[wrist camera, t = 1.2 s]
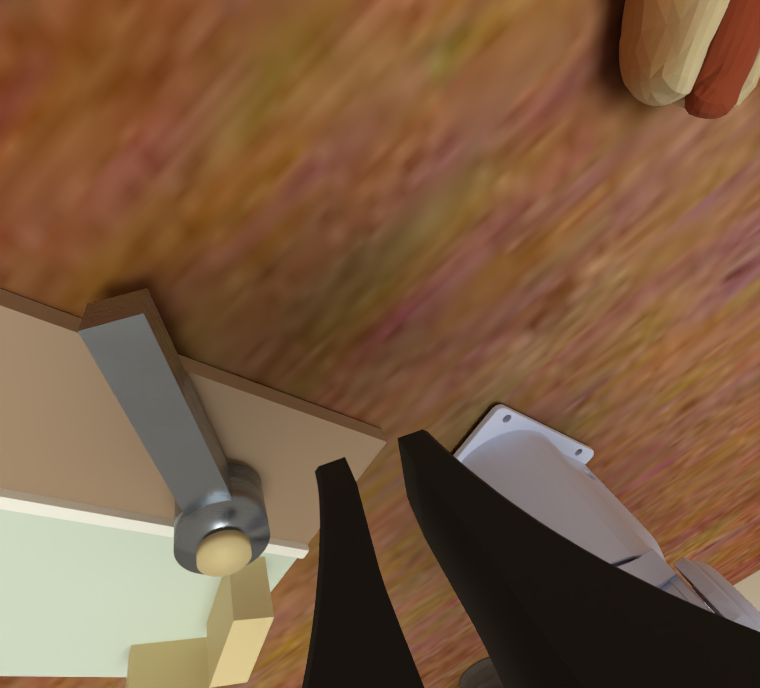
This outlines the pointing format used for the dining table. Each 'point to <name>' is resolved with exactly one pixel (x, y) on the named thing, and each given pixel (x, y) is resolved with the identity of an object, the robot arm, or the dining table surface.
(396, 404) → the dining table surface
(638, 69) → the food
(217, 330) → the dining table surface
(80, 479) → the board
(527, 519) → the robot arm
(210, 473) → the latch bar
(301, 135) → the dining table surface
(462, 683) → the beverage cup
